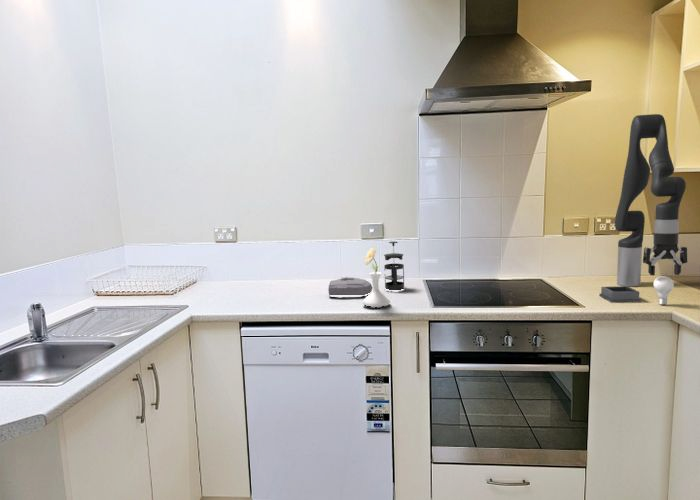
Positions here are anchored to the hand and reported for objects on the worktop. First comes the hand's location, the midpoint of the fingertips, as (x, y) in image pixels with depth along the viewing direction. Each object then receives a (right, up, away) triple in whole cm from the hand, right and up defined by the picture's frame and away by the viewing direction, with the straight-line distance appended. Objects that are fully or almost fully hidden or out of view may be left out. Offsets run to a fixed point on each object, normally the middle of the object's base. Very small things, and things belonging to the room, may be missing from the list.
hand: (664, 275), depth 175 cm
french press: (-96, -10, +46) cm, 107 cm away
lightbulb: (+1, -12, +2) cm, 12 cm away
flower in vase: (-106, -14, +17) cm, 109 cm away
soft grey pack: (-117, -12, +39) cm, 124 cm away
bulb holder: (-9, -10, +13) cm, 19 cm away
